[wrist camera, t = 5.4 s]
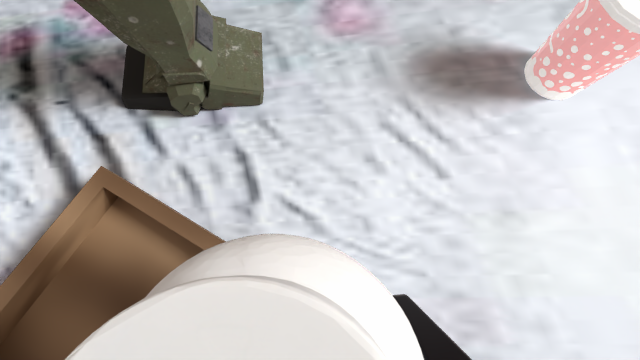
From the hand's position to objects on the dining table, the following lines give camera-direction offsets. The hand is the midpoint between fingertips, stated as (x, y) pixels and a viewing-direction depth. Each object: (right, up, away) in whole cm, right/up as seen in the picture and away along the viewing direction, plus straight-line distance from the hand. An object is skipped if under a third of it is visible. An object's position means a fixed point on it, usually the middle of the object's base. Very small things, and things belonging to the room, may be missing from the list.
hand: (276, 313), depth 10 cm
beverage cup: (+21, +12, +19) cm, 31 cm away
